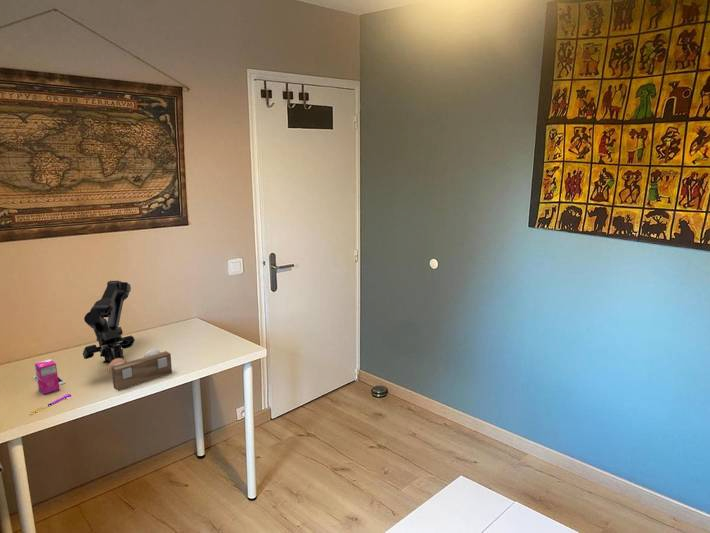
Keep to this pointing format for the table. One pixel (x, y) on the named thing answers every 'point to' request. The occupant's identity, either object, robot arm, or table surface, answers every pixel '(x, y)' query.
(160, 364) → the grey plunger
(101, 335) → the robot arm
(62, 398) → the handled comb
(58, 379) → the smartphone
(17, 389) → the table surface
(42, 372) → the supplement box
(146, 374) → the panel
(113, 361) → the terracotta plunger
